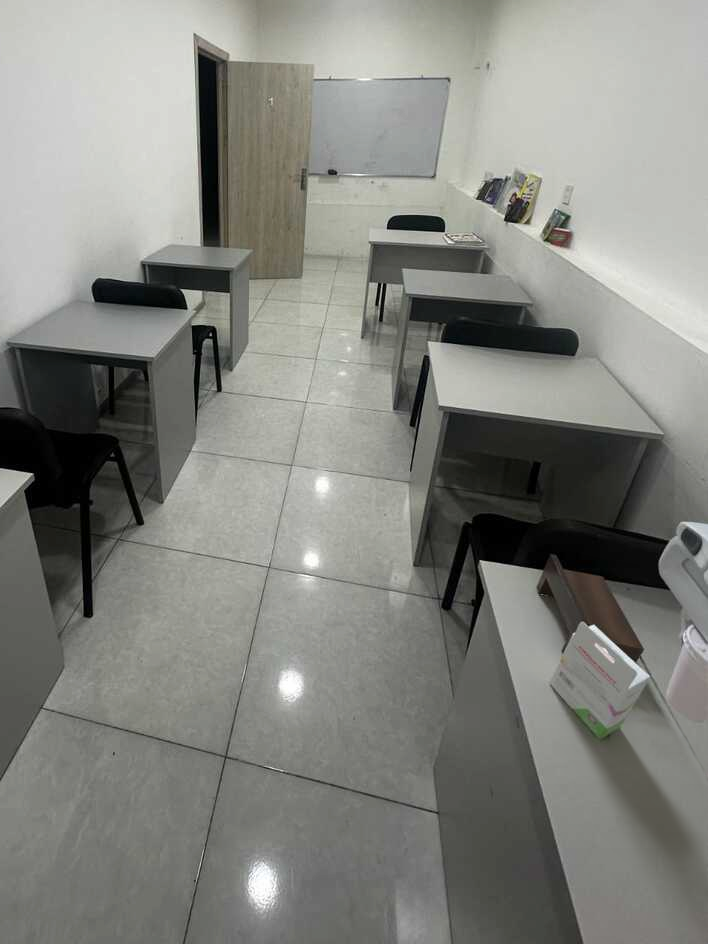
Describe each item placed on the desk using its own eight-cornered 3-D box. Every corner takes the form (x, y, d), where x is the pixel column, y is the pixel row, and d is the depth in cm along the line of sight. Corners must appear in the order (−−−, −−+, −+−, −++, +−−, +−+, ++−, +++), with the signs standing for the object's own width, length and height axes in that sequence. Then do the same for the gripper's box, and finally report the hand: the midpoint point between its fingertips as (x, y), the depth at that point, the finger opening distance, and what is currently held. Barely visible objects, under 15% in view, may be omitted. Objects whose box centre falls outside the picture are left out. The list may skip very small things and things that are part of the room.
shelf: (591, 599, 91) (608, 564, 87) (629, 673, 78) (652, 636, 75) (535, 588, 92) (550, 553, 89) (564, 659, 80) (583, 622, 76)
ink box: (621, 728, 71) (663, 664, 65) (599, 741, 69) (639, 676, 63) (568, 671, 78) (601, 608, 72) (546, 681, 76) (578, 618, 70)
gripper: (914, 706, 38) (821, 798, 44) (730, 520, 56) (681, 602, 62) (823, 689, 39) (743, 781, 44) (671, 511, 57) (628, 592, 63)
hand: (706, 675), depth 53 cm, fingers closed on smoothie, 5 cm apart
